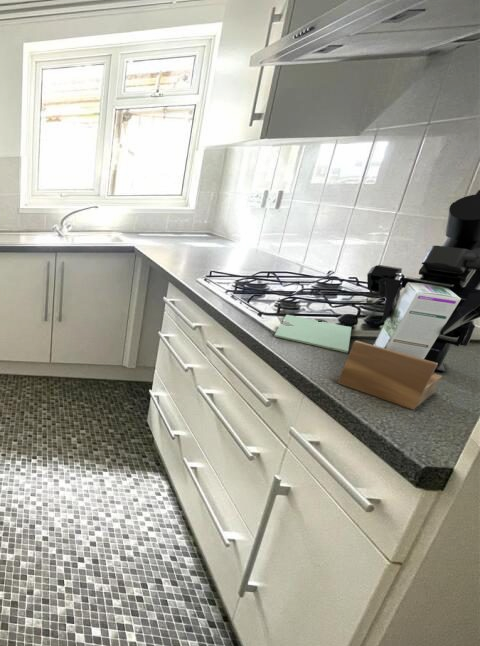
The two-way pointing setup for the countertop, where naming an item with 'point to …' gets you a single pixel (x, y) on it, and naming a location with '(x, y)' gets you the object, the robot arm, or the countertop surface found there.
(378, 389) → the stand
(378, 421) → the countertop surface
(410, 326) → the syrup box
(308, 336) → the mat
